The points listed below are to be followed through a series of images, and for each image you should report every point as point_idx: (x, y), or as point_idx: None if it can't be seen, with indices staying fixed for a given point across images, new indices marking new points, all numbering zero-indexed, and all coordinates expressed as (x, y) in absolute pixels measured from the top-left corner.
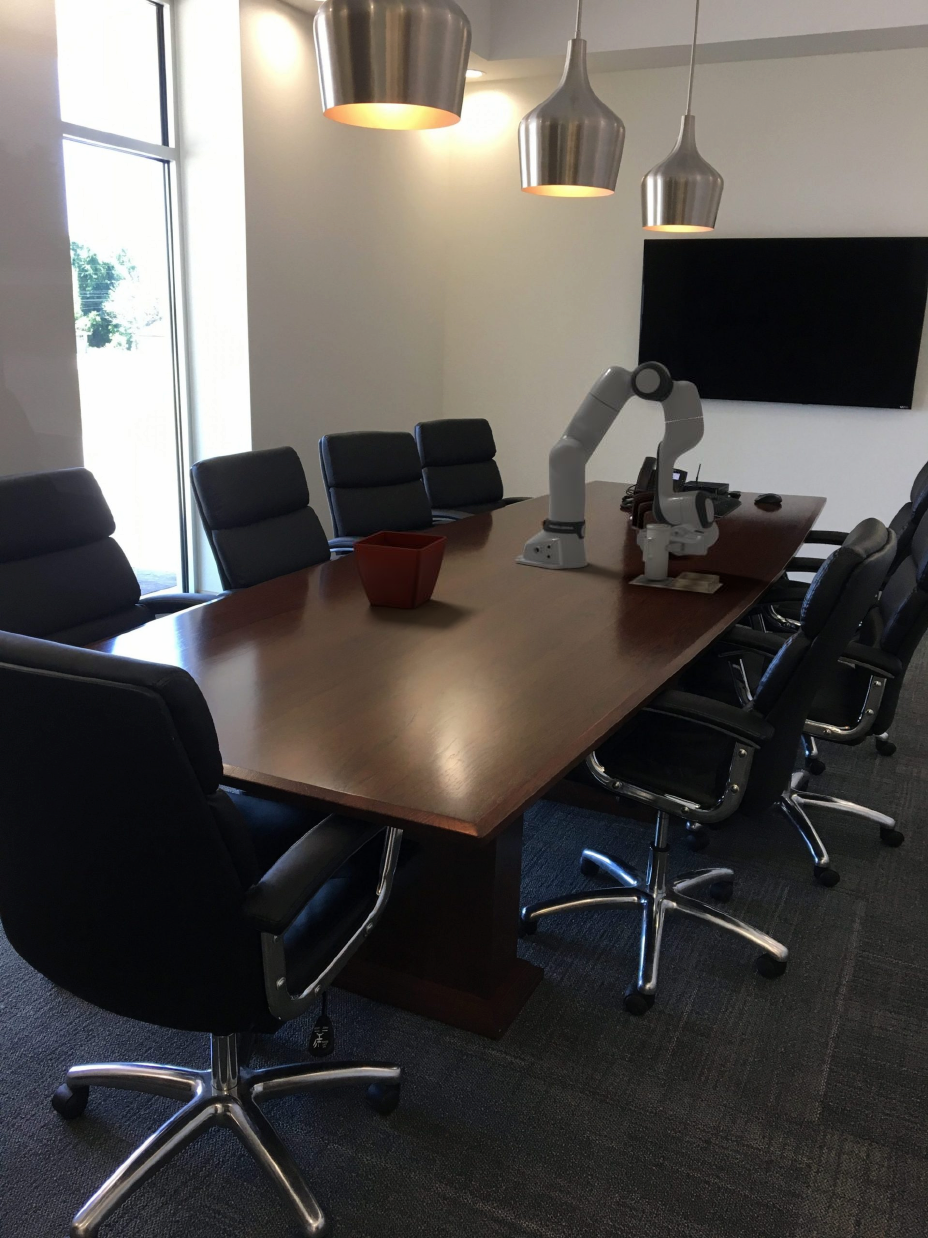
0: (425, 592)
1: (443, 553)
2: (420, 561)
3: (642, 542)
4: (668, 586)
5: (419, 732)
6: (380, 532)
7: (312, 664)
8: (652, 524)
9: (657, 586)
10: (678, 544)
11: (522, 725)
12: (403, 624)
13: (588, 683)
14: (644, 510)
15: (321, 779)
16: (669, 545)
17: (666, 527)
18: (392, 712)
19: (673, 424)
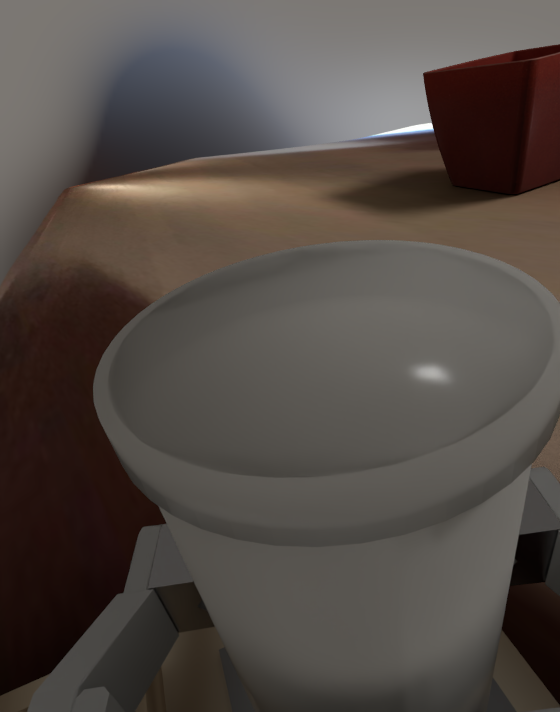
0: (476, 169)
1: (517, 101)
2: (427, 96)
3: (532, 470)
4: (203, 657)
5: (153, 182)
6: None
7: (311, 159)
8: (480, 303)
9: None
10: (60, 667)
11: (100, 202)
12: (382, 181)
13: (86, 231)
14: None
15: (157, 168)
16: (155, 525)
17: (138, 326)
18: (188, 177)
19: None
